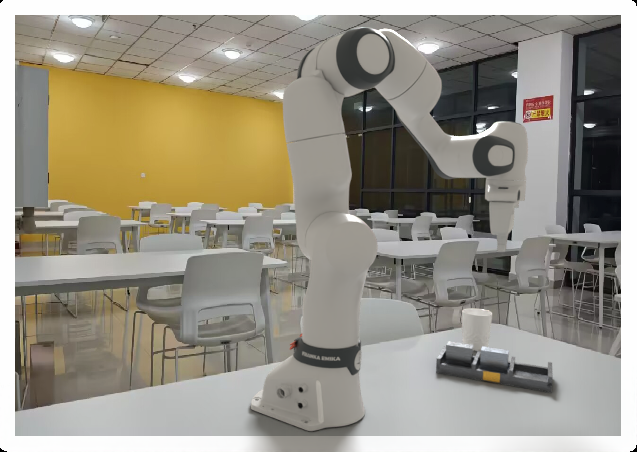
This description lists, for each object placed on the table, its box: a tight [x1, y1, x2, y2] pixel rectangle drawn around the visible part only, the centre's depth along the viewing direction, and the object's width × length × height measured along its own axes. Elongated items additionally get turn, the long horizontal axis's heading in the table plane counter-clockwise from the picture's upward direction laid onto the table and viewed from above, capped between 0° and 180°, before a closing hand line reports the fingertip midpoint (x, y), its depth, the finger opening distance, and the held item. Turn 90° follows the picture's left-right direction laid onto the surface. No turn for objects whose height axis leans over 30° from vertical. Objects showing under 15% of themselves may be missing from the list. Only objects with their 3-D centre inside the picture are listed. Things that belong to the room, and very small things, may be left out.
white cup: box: [461, 307, 493, 352], centre depth 140 cm, size 8×8×10 cm
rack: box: [435, 340, 554, 393], centre depth 120 cm, size 25×10×6 cm, turn 66°
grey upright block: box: [480, 346, 510, 374], centre depth 120 cm, size 6×3×5 cm, turn 66°
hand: (501, 251), depth 121 cm, fingers closed
